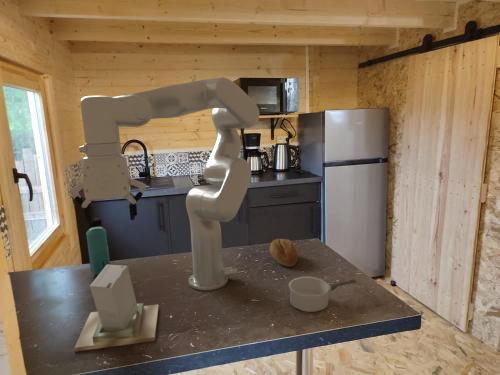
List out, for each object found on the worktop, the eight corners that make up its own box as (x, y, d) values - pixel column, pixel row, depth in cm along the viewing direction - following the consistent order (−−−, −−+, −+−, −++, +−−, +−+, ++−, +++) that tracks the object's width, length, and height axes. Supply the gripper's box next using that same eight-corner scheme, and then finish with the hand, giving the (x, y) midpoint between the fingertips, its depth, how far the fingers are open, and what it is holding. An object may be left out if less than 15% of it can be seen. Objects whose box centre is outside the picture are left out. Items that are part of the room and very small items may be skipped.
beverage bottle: (104, 279, 115) (97, 222, 111) (86, 277, 116) (79, 221, 112) (115, 270, 121) (109, 216, 117) (98, 269, 123) (92, 215, 119)
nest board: (158, 307, 97) (158, 299, 97) (154, 340, 83) (153, 331, 82) (91, 315, 94) (90, 307, 93) (74, 351, 80) (73, 342, 79)
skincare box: (118, 307, 92) (106, 262, 86) (139, 309, 92) (128, 263, 85) (102, 332, 85) (87, 285, 79) (125, 334, 84) (111, 286, 78)
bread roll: (277, 271, 119) (277, 249, 117) (264, 254, 133) (264, 235, 131) (303, 267, 121) (303, 246, 119) (287, 251, 135) (287, 232, 134)
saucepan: (364, 307, 95) (365, 289, 94) (296, 318, 91) (296, 298, 90) (344, 288, 106) (345, 271, 105) (283, 296, 102) (283, 279, 101)
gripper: (58, 154, 75) (69, 228, 79) (140, 150, 78) (147, 221, 82) (69, 150, 82) (78, 219, 86) (143, 147, 85) (150, 213, 89)
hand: (112, 220), depth 84 cm, fingers open, 9 cm apart
